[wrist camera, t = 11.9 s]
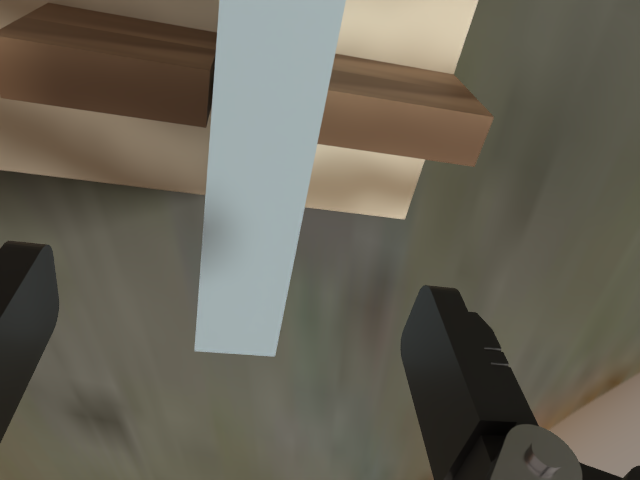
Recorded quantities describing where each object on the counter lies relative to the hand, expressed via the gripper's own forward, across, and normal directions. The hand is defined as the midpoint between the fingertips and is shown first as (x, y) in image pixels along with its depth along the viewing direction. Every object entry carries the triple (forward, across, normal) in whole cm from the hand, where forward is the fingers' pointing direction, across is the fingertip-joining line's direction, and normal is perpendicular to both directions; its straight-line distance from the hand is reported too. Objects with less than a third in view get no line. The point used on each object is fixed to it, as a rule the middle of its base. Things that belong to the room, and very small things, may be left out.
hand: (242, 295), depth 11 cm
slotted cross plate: (+18, 0, 0) cm, 18 cm away
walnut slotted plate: (+18, 0, 0) cm, 18 cm away
